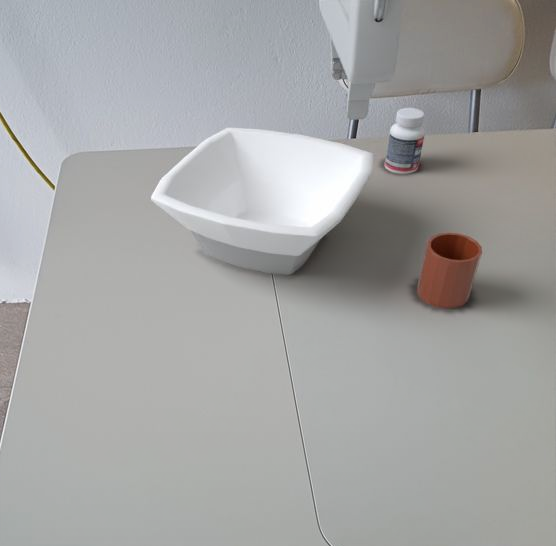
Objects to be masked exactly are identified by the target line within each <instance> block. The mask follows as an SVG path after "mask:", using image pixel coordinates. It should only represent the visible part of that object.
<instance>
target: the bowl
mask: <svg viewBox="0 0 556 546" xmlns="http://www.w3.org/2000/svg"><path fill="white" fill-rule="evenodd" d="M374 156H375V155H374V153H372V152H370V151H367V150H363V149H361V148H357V147H354V146H351V145H347V144H344V143H341V142H337V141H332V140H327V139H323V138H320V137H319V138H318V137H314V136H311V135H310V136H309V135H305V134H300V133H292V132H291V133H290V132H284V131H277V130H276V131H275V130H268V129H263V128H245V127H244V128H243V127H225V128H224V129H222V130H220V131H218V132H217V133H215V134H213V135H211V136H209V137H208V138H205V139H204V140H202V142H200V143H199V144H198V145H197V146H196V147H195V148H194V149H193V150H191V151H190V152H189V153H188V154H187V155H185V156H184V157H183V158H182V159H181V160H180V161H179V162H178V163H177V164H175V165H174V166H173V167H172V168H171V169H170V170H169V171H168V172H167V173H166V174H165V175H163V177H162V178H160V180H159V182H158V184H157V185H156V187H155V189H154V190H153V192H152V194H151V196H150V199H151V202H153V203H154V204H155V205H156V206H158V207H159V208H160V209H162V210H163V211H164V212H166V213H167V214H168V215H169V216H171V217H172V218H173V219H175V220H176V221H177V222H178V223H180V225H182V226H183V227H185V228H186V229H187V230H189V231H190V232H191V234H192V236H193V237H194V239H195V241H196V242H197V243H198V246H200V248H201V250H202V252H203V253H204V254H205V255H207V256H209V257H212V258H214V259H216V260H217V261H220V262H223V263H226V264H230V265H232V266H235V267H239V268H242V269H245V270H250V271H256V272H262V273H266V274H273V275H274V274H275V275H284V276H291V275H292V274H294V273H295V272H296V271H298V270H299V269H301V267H303V266H304V265H305V263H306V262H307V260H308V259H309V258H310V256H312V255H311V254H312V253H313V252H314V250H315V249H316V247H317V246H318V244H319V243H320V241H321V240H322V238H323V237H324V236H326V235H327V234H328V233H330V231H331V230H332V229H334V228H335V227H336V226H337V225H339V224H340V223H341V222H342V220H343V219H344V218H345V216H346V214H347V213H348V211H350V209H351V208H352V206H353V204H354V203H355V202H356V201H357V199H358V197H359V196H360V194H361V192H362V191H363V189H364V188H365V186H366V185H367V183H368V181H369V179H370V178H371V176H372V175H373V170H374Z"/></svg>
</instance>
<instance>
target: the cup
mask: <svg viewBox="0 0 556 546" xmlns="http://www.w3.org/2000/svg"><path fill="white" fill-rule="evenodd" d="M482 247H483V246H482V245H481V244H480V243H479V242H478V240H476V239H474V238H473V237H471V236H468V235H465V234H462V233H457V232H442V233H437V234H435V235H433V236H431V237H430V238H429V239H428V240H427V242H426V245H425V251H424V254H423V259H422V263H421V269H420V273H419V276H418V281H417V288H416V293H417V295H418V298H420V300H422V301H423V302H424V303H425V304H428V305H430V306H432V307H434V308H439V309H449V310H450V309H451V310H452V309H456V308H460V307H462V306H464V305H465V304H466V303H467V302H468V300H469V298H470V296H471V292H472V289H473V285H474V282H475V278H476V275H477V271H478V268H479V266H480V263H481V262H480V261H481V259H482V254H483V248H482Z"/></svg>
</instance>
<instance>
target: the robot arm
mask: <svg viewBox="0 0 556 546" xmlns="http://www.w3.org/2000/svg"><path fill="white" fill-rule="evenodd" d="M318 6H319V12H320V15H321V17H322V19H323V23H324V24H325V27H326V30H327V32H328V35H329V43H330V57H331V59H330V74H331V77H332V79H333V80H335V81H339V80H348V86H347V87H348V88H347V93H346V94H345V105H344V111H345V114H346V117H347V119H348V120H350V121H355V120H357V121H358V120H364V119H366V118H367V116H368V113H369V106H370V105H369V104H370V100H371V97H372V94H373V92H374V89H375V86H376V85H377V84H378V83H387V82H390V81H391V80H392V78H393V77H394V74H395V71H396V69H397V64H398V55H399V46H400V37H401V25H402V12H403V0H318Z"/></svg>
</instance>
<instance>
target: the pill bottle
mask: <svg viewBox="0 0 556 546" xmlns="http://www.w3.org/2000/svg"><path fill="white" fill-rule="evenodd" d="M424 119H425V112H424V111H423V110H421V109H420V108H419V109H418V108H415V107H404V108H403V107H402V108H400V109H398V110H397V112H396V115H395V123H394V124H392V125H391V127H390V129H389V135H388V141H387V148H386V154H385V160H384V168H385V169H386V170H387V171H389V172H392V173H395V174H401V175H408V174H412V173H414V172H416V171H417V170H418V169H419V165H420V160H421V155H422V150H423V145H424V140H425V134H426V130H425V127H424V126H423V123H424Z"/></svg>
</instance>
